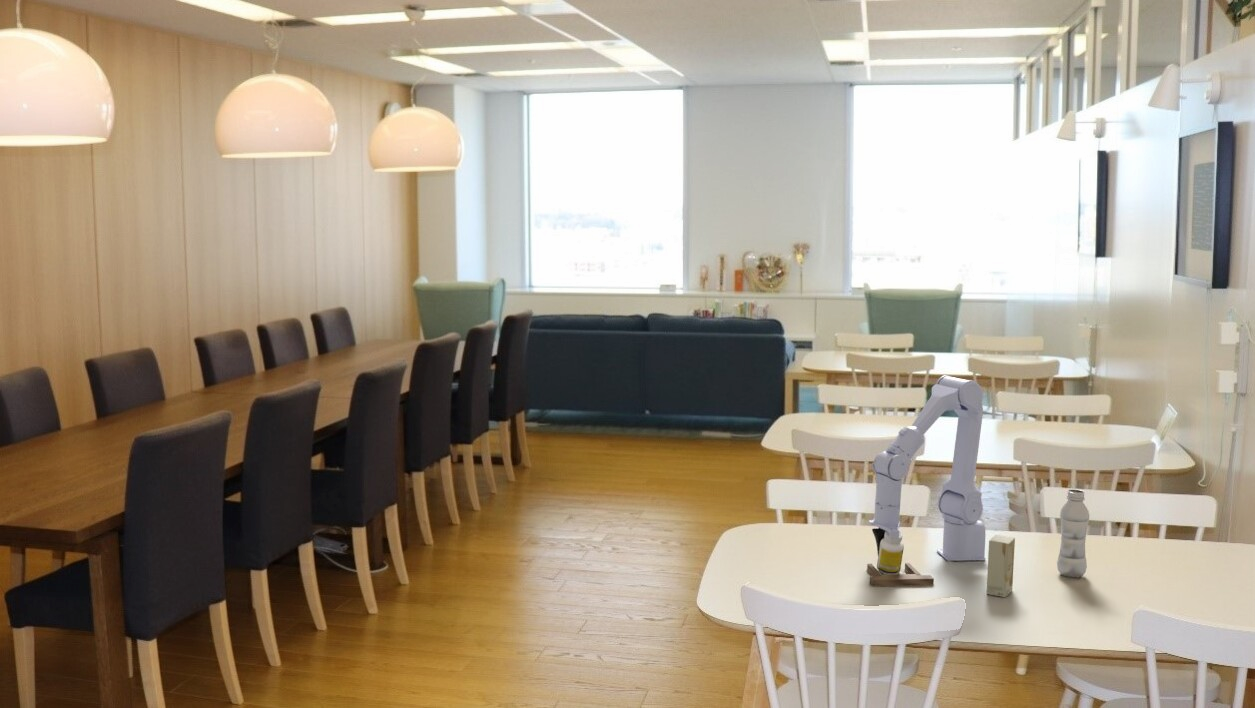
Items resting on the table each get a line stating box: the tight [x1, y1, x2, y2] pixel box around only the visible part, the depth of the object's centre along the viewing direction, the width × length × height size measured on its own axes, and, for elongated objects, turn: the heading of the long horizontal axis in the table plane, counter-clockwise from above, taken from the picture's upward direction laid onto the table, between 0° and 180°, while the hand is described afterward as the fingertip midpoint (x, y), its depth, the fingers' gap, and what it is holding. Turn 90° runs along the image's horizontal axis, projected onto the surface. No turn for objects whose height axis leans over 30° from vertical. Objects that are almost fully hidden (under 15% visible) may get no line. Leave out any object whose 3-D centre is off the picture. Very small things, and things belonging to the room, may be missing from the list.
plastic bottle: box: [1056, 489, 1090, 578], centre depth 268 cm, size 6×7×20 cm
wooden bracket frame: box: [866, 562, 935, 587], centre depth 268 cm, size 14×11×2 cm
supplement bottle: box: [876, 530, 905, 575], centre depth 270 cm, size 5×5×10 cm
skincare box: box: [985, 534, 1016, 598], centre depth 257 cm, size 6×4×12 cm
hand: (883, 559), depth 274 cm, fingers closed, pressing on supplement bottle
